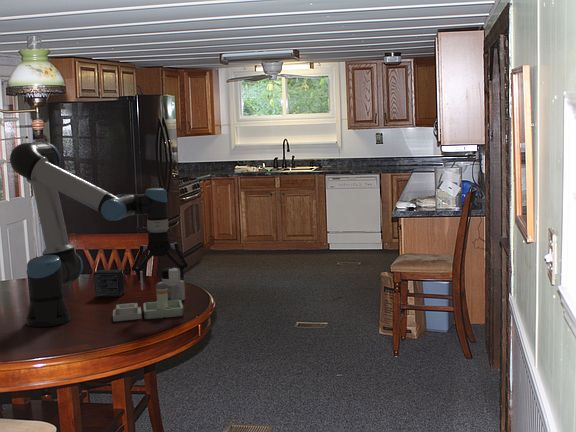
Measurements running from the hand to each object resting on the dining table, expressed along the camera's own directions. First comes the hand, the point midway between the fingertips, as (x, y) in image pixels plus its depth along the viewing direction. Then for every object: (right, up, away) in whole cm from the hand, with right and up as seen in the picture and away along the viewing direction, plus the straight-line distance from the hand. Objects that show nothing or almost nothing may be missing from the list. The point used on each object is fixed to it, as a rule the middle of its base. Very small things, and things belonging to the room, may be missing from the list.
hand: (160, 288), depth 285 cm
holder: (-12, -10, -2) cm, 16 cm away
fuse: (+1, -9, +1) cm, 9 cm away
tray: (+1, -9, +1) cm, 9 cm away
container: (+1, -7, +19) cm, 21 cm away
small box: (-26, -7, +33) cm, 43 cm away
